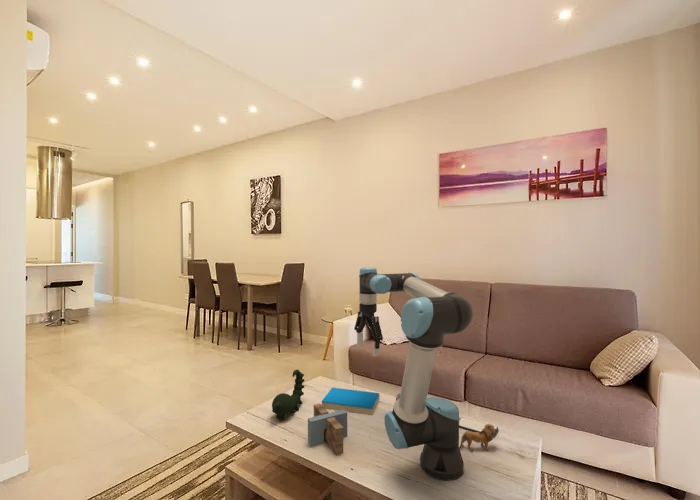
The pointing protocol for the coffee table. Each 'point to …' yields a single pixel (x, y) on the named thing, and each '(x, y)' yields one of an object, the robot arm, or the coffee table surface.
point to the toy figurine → (289, 399)
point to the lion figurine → (479, 437)
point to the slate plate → (324, 426)
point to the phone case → (473, 425)
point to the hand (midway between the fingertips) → (367, 351)
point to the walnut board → (331, 431)
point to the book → (351, 401)
